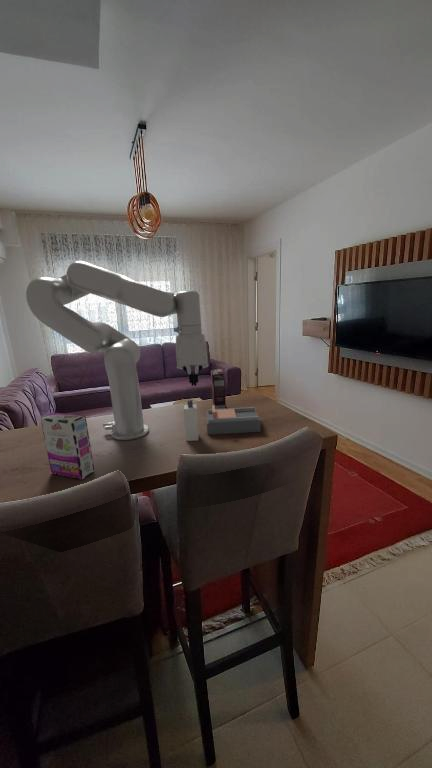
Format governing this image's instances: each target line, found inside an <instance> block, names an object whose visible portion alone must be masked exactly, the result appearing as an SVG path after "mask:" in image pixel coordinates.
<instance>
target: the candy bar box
mask: <svg viewBox="0 0 432 768" xmlns="http://www.w3.org/2000/svg"><path fill="white" fill-rule="evenodd" d="M40 423H41V429H42V432H43V438H44V442H45V448H46V453H47V457H48V463H49V468H50V472H52V473H56V474H60V475H64V476H63V477H65V476H69V477H68V478H70V477H75V478H80V479H79V480H81V479H83V478H84V479H86V478H88V475H89V474H90V475H91V473H92V472H93V473H94V472H95V465H94V459H93V453H92V448H91V447H92V446H91V442H90V435H89V430H88V429H89V428H88V423H87V415H80V414H72V413H70V414H69V413H62V412H61V413H60V412H53V413H51V414H48V415H46V416H43V417H41V418H40ZM93 473H92V474H93ZM60 475H59V476H60ZM90 475H89V476H90ZM85 477H86V478H85ZM75 478H74V479H75ZM84 479H83V480H84Z"/></svg>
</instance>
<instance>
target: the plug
mask: <svg viewBox="0 0 432 768" xmlns="http://www.w3.org/2000/svg"><path fill="white" fill-rule="evenodd" d="M183 416H184V428H185V429H184V430H185V431H184V432H185V441H186V442H192V441H194V442H195V441H196V442H197V441H199V438H200V437H199V436H200V434H199V432H200V431H199V420H198V419H199V416H198V406H197V404H196V403H195V404H194V403H193V400H192V399H187V404H184V406H183Z"/></svg>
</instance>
